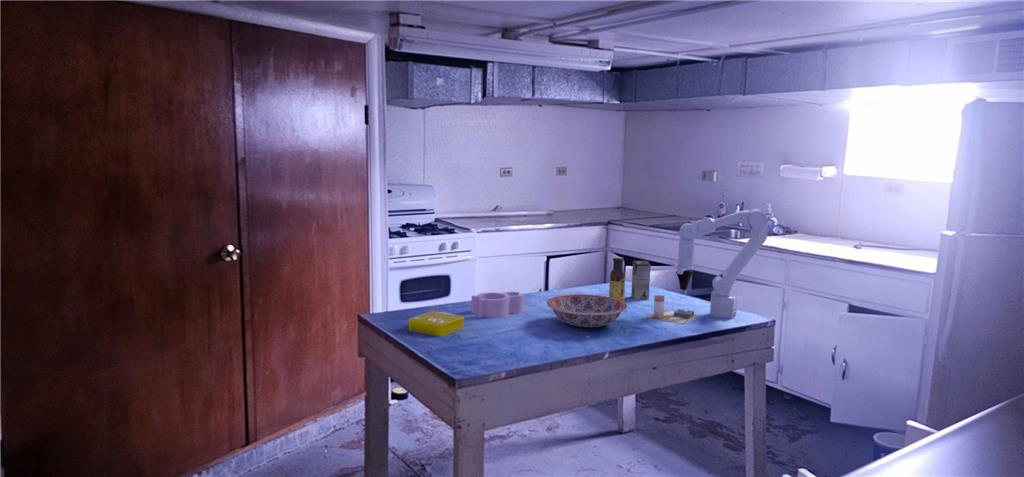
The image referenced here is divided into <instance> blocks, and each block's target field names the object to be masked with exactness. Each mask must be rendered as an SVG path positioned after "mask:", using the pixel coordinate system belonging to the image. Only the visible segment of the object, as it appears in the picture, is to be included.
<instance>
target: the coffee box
mask: <svg viewBox="0 0 1024 477" xmlns="http://www.w3.org/2000/svg"><path fill="white" fill-rule="evenodd" d="M651 267H652V266H651V264H650V262H649V261H648V260H632V273H631V274H632V275H631V292H630V294H631V297H632V298H633V300H639V301H640V300H645V301H649V299H650V283H651V282H650V281H651Z"/></svg>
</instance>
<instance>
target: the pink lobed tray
mask: <svg viewBox="0 0 1024 477" xmlns="http://www.w3.org/2000/svg"><path fill="white" fill-rule="evenodd" d="M524 306H525V294H524V293H520V291H505V292H494V291H493V292H483V293H478V294H477V295H471V309H470V310H471V311H470V312H471V314H472V313H473V314H472V315H474V314H475V315H478V318H480V319H481V318H490V319H491V318H493V319H494V318H497V319H498V318H505V317H507V316H509V315H511V314H512V315H514V314H522V313H524V312H525V311H524V309H525V307H524Z"/></svg>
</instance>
